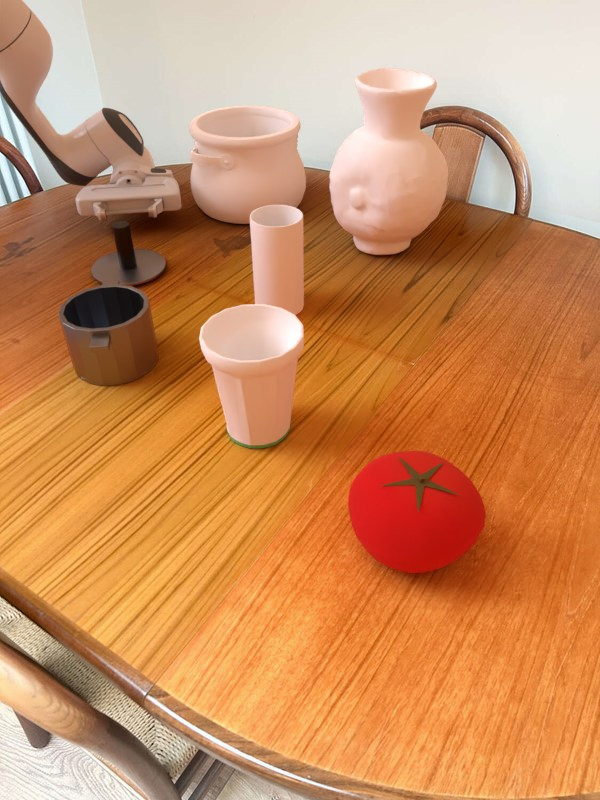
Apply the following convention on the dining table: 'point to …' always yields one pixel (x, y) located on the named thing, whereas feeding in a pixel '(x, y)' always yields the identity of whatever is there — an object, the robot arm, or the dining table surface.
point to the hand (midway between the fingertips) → (127, 215)
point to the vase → (389, 164)
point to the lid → (128, 260)
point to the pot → (245, 161)
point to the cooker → (109, 333)
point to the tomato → (415, 511)
